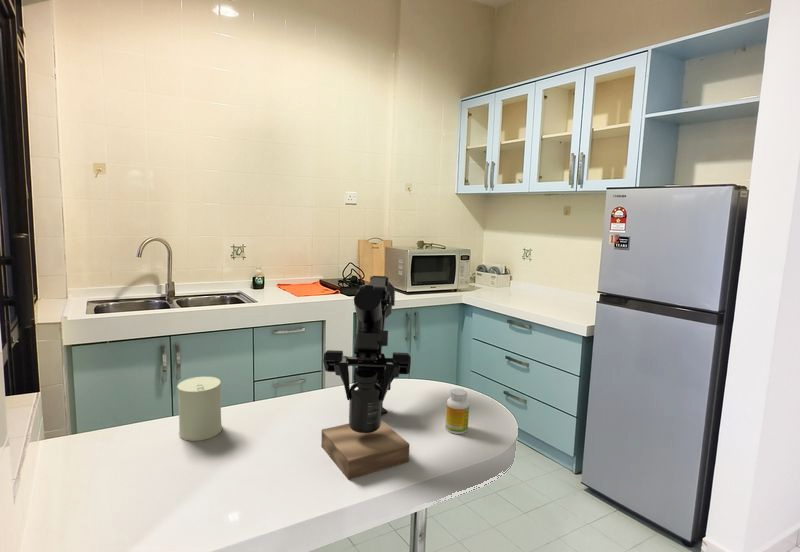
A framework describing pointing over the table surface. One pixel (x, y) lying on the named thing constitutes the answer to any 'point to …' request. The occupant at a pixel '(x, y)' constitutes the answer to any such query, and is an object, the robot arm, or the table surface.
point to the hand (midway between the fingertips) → (365, 400)
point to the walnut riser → (364, 449)
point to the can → (199, 408)
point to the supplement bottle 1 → (365, 402)
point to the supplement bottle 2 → (457, 411)
